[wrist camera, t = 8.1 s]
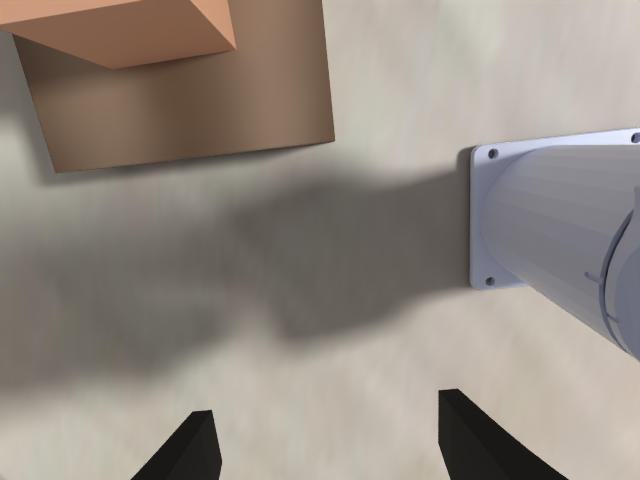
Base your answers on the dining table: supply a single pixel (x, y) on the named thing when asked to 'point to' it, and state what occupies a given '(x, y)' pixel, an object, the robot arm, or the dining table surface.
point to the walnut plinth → (189, 94)
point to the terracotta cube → (123, 28)
